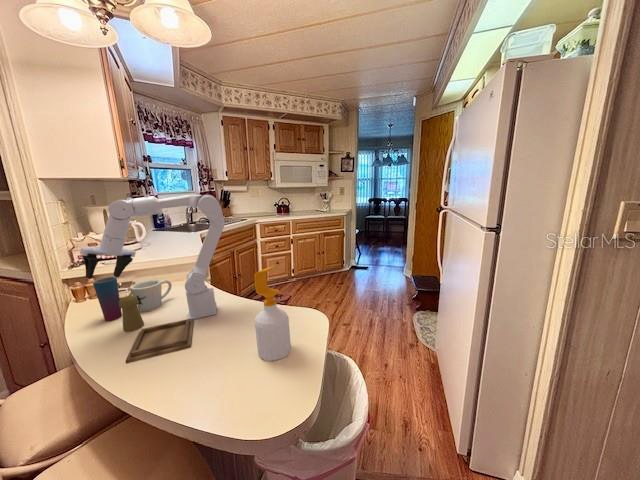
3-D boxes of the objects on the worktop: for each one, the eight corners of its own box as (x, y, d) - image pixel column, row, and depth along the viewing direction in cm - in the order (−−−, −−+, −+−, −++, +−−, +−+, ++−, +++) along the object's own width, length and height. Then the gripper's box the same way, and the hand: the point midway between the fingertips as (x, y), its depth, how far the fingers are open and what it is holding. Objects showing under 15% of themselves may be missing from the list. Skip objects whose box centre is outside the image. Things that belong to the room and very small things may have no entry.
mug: (129, 310, 104) (124, 286, 102) (166, 295, 116) (162, 274, 114) (144, 315, 99) (139, 290, 97) (181, 299, 111) (177, 277, 109)
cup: (112, 323, 94) (103, 283, 91) (97, 321, 96) (87, 282, 93) (129, 313, 101) (121, 276, 98) (114, 312, 102) (106, 276, 99)
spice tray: (193, 322, 92) (192, 316, 92) (190, 347, 78) (189, 340, 77) (140, 333, 86) (138, 328, 86) (126, 363, 72) (124, 356, 71)
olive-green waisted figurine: (148, 324, 92) (142, 295, 90) (129, 333, 87) (123, 302, 84) (137, 321, 95) (131, 292, 92) (119, 330, 89) (112, 299, 87)
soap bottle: (276, 365, 68) (267, 275, 63) (251, 355, 73) (241, 270, 67) (297, 347, 75) (291, 264, 70) (273, 338, 80) (265, 260, 75)
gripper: (131, 235, 92) (120, 271, 93) (80, 230, 79) (68, 273, 80) (143, 241, 89) (132, 279, 90) (92, 237, 76) (79, 281, 77)
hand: (102, 276), depth 85 cm, fingers open, 7 cm apart
